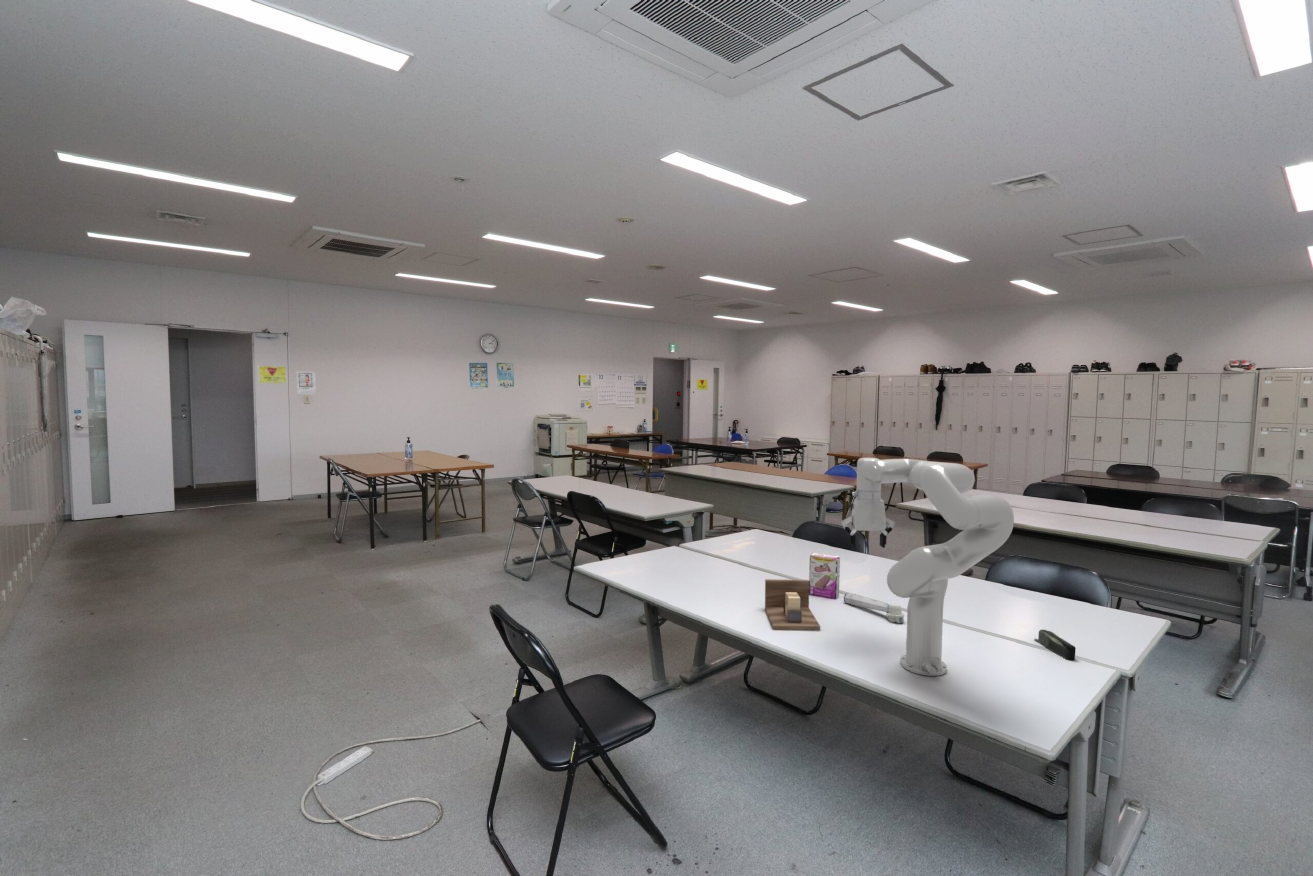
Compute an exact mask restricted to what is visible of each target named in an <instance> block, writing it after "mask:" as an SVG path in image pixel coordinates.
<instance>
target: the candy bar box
mask: <svg viewBox="0 0 1313 876" xmlns="http://www.w3.org/2000/svg"><path fill="white" fill-rule="evenodd" d="M840 570H841V556H839V555H832V554H824V553H817V552H812V553H811V554H809V573H808V575H809V576H808V577H809V579H808V580H809V595H810V594H811V596H815V595H816V596H817V597H821V596H822V597H823V598H828V599H832V598H833V600H836V598H837V599H838V597H839V596H840V578H841V577H840V576H841V575H840V572H841V571H840ZM822 597H821V598H822Z"/></svg>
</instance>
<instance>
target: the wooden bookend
mask: <svg viewBox="0 0 1313 876" xmlns="http://www.w3.org/2000/svg"><path fill="white" fill-rule="evenodd" d="M764 584H765V585H764V611H765V613H766V616H767V618H768V622H769V623H770V625H771V628H772V630H773V631H814V630H820V631H821V625H820V623H819V622H818V620H817V619H816V617H815V616H814V613H813V612H812V611H811V609H810V594H809V579H769V578H768V579H765V580H764ZM786 592H796V593H797V594H798V595H799V597H800V610H788V618H787V616H786V615H785V597H786Z"/></svg>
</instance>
